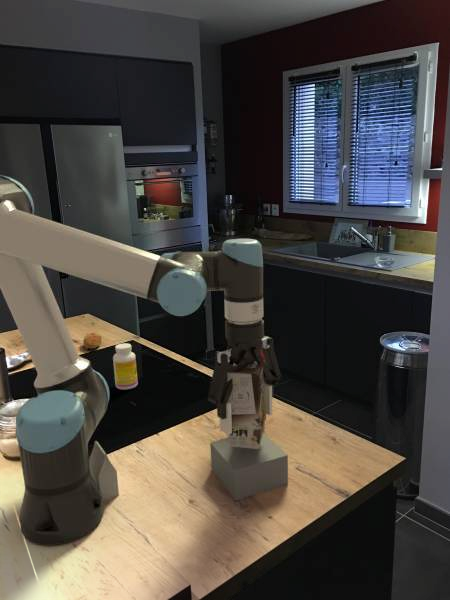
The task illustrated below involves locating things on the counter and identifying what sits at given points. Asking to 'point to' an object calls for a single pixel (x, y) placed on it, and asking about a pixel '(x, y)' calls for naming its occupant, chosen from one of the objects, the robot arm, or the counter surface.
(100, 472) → the white carton
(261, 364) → the coffee box
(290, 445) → the counter surface
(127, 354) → the supplement bottle
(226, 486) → the riser block
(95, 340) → the pastry
